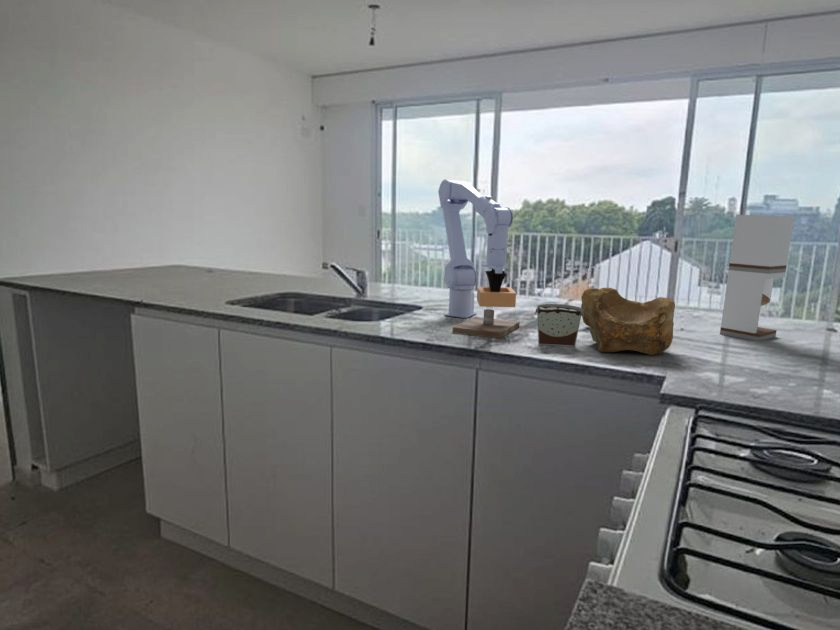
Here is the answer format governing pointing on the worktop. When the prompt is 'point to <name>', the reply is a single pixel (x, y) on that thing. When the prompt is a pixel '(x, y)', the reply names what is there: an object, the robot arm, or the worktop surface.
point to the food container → (558, 324)
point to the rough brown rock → (628, 321)
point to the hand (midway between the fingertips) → (494, 295)
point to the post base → (486, 326)
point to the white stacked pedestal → (754, 272)
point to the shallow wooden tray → (496, 297)
